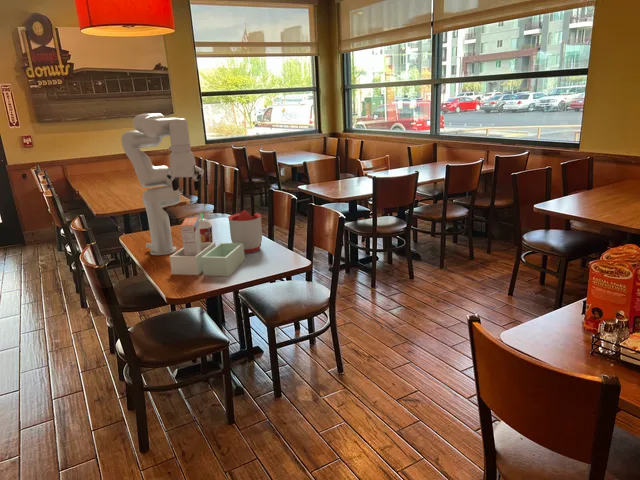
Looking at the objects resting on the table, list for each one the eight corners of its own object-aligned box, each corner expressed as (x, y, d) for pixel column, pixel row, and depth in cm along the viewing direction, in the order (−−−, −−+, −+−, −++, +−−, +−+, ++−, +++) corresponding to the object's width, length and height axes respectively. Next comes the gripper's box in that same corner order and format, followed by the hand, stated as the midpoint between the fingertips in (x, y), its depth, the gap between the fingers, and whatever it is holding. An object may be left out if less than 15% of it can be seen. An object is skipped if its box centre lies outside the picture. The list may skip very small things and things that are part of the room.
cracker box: (191, 261, 213) (185, 217, 207) (204, 260, 214) (198, 216, 208) (185, 272, 200) (179, 225, 194) (200, 271, 201) (194, 224, 195)
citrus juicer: (270, 244, 233) (267, 205, 227) (256, 256, 217) (252, 214, 211) (241, 243, 237) (237, 205, 232) (225, 254, 221) (221, 213, 216)
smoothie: (218, 251, 226) (214, 211, 220) (207, 256, 219) (202, 215, 213) (204, 249, 230) (199, 210, 224) (193, 255, 223) (188, 214, 217)
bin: (203, 275, 196) (201, 257, 194) (222, 259, 215) (220, 242, 212) (228, 275, 194) (226, 257, 191) (244, 259, 213) (243, 243, 210)
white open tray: (172, 274, 199) (169, 256, 196) (193, 258, 218) (190, 242, 215) (198, 275, 196) (195, 257, 194) (217, 259, 215) (215, 242, 213)
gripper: (157, 150, 190) (163, 192, 195) (196, 149, 187) (201, 191, 192) (166, 148, 197) (171, 188, 202) (204, 147, 194) (209, 188, 199)
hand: (186, 190), depth 197 cm, fingers open, 9 cm apart
